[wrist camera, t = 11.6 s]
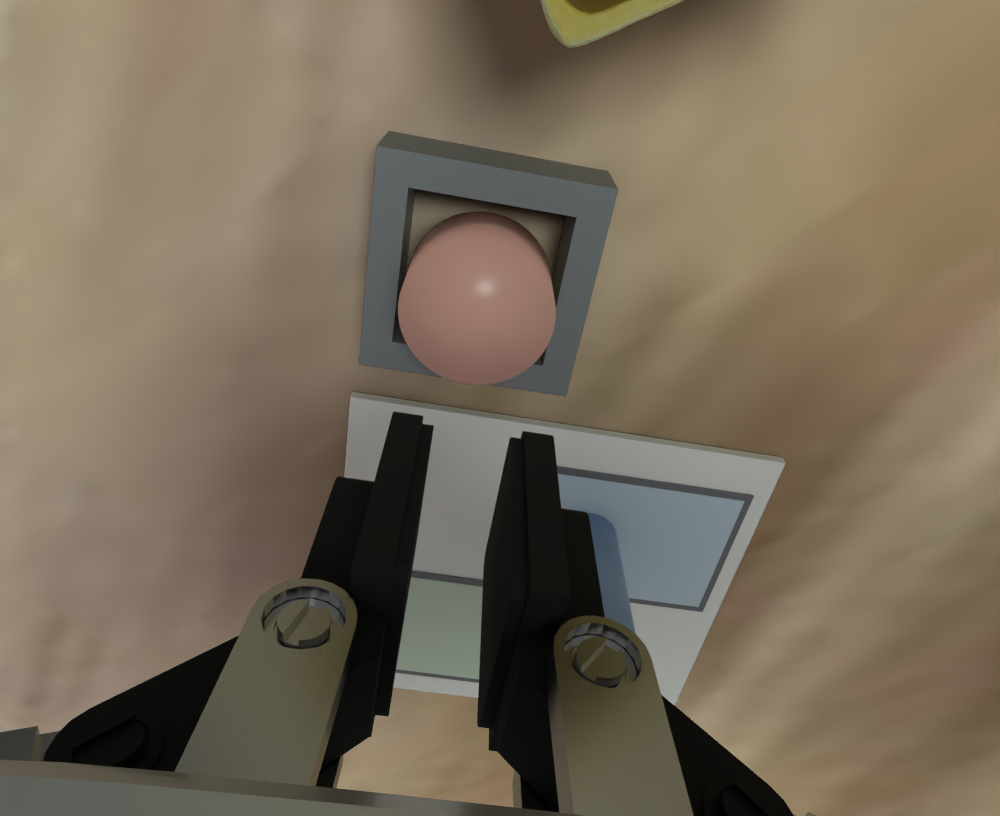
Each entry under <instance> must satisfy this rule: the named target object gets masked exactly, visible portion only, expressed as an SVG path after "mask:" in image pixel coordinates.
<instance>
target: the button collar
mask: <svg viewBox="0 0 1000 816" xmlns="http://www.w3.org/2000/svg"><path fill="white" fill-rule="evenodd" d="M415 189H419V190H425V191H431V192H436V193H442V194H448V195H453V196H459V197H465V198H470V199H476V200H482V201H487V202H493V203H498V204H504V205H510V206H515V207H521V208H527V209H532V210H538V211H544V212H549V213H555V214H561V215H566V219H565V224H564V228H563V233H562V238H561V242H560V247H559V251H558V256H557V260H556V265H555V269H554V274H553V278H552V286H553V292H554V299H555V306H556V320H555V327H554V331H553V334H552V337H551V339H550V342H549V344H548V346H547V347H546V349H545V351H544V352H543V354H542V355H541V356H540V357H539V359H538V360H537V361H536V362H535V363H534V364H533V365H532V366H530V367H529V368H528V369H526V370H525V371H524V372H522V373H521V374H519V375H517V376H515V377H513V378H511V379H508V380H505V381H502V382H498V383H494V384H489V385H495V386H501V387H508V388H514V389H521V390H527V391H534V392H540V393H546V394H553V395H559V396H566V394H567V390H568V386H569V382H570V378H571V374H572V370H573V366H574V362H575V358H576V354H577V350H578V346H579V342H580V338H581V334H582V331H583V327H584V323H585V319H586V315H587V311H588V307H589V303H590V299H591V295H592V291H593V287H594V283H595V279H596V275H597V271H598V267H599V263H600V259H601V255H602V251H603V248H604V244H605V240H606V236H607V232H608V228H609V224H610V220H611V216H612V212H613V208H614V204H615V200H616V196H617V192H618V188H617V186H616V184H615V183H614V181H613V179H612V177H611V176H610V174H609V172H608V171H604V170H599V169H593V168H588V167H582V166H577V165H571V164H566V163H560V162H555V161H549V160H544V159H539V158H533V157H528V156H522V155H517V154H511V153H506V152H500V151H495V150H489V149H484V148H478V147H473V146H467V145H462V144H456V143H451V142H445V141H440V140H435V139H429V138H424V137H418V136H413V135H407V134H402V133H396V132H391V131H389V132H388V133H387V134H386V135H385V136H384V138H383V139H382V140H381V141H380V142H379V144H378V145H377V149H376V161H375V173H374V186H373V198H372V210H371V222H370V235H369V247H368V259H367V272H366V284H365V296H364V308H363V321H362V333H361V345H360V357H359V364H360V365H367V366H373V367H380V368H386V369H392V370H399V371H405V372H412V373H418V374H425V375H431V376H437V377H442V376H440V375H438V374H436V373H434V372H433V371H431V370H430V369H428V368H427V367H426V366H425V365H423V364H422V363H421V362H420V361H419V360H418V359H417V358H416V357H415V355H414V354H413V353H412V351H411V350H410V349H409V347H408V345H407V343H406V341H405V339H404V337H403V334H402V332H401V328H400V324H399V318H398V302H399V296H400V292H401V289H402V286H403V283H404V280H405V276H406V267H407V258H408V249H409V240H410V231H411V222H412V213H413V204H414V195H415Z"/></svg>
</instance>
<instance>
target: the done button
mask: <svg viewBox="0 0 1000 816" xmlns="http://www.w3.org/2000/svg"><path fill="white" fill-rule="evenodd" d="M398 318H399V324H400V328H401V332H402V334H403V337H404V339H405V341H406V343H407V345H408V347H409V349H410V350H411V351H412V353H413V354H414V355H415V357H416V358H417V359H418V360H419V361H420V362H421V363H422V364H423V365H425V366H426V367H427V368H428V369H430V370H431V371H433V372H434V373H436V374H438V375H440V376H442V377H444V378H446V379H449V380H452V381H455V382H458V383H463V384H471V385H487V384H494V383H498V382H502V381H505V380H508V379H511V378H513V377H515V376H517V375H519V374H521V373H522V372H524V371H525V370H526V369H528V368H529V367H530V366H532V365H533V364H534V363H535V362H536V361H537V360H538V359H539V357H540V356H541V355H542V354H543V352H544V351H545V349H546V347H547V346H548V344H549V342H550V339H551V337H552V334H553V331H554V327H555V320H556V306H555V299H554V292H553V286H552V279H551V273H550V267H549V263H548V260H547V257H546V255H545V252H544V250H543V249H542V247H541V245H540V243H539V242H538V241H537V240H536V238H535V237H534V236H533V235H532V234H531V233H530V232H529V231H528V230H527V229H526V228H525V227H523V226H522V225H520V224H519V223H517V222H516V221H514V220H512V219H510V218H508V217H505V216H502V215H499V214H495V213H490V212H468V213H462V214H459V215H455V216H452V217H450V218H448V219H446V220H444V221H442V222H441V223H439V224H437V225H436V226H435V227H434V228H432V229H431V230H430V231H429V232H428V233H427V234H426V235H425V236H424V237H423V239H422V240H421V242H420V243H419V244H418V246H417V248H416V250H415V252H414V254H413V257H412V260H411V263H410V266H409V269H408V271H407V274H406V277H405V280H404V283H403V286H402V289H401V292H400V296H399V302H398Z"/></svg>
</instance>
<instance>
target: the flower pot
mask: <svg viewBox="0 0 1000 816" xmlns="http://www.w3.org/2000/svg"><path fill="white" fill-rule="evenodd" d="M540 1H541V5H542V8H543V12H544V16H545V19H546V22H547V24H548V26H549V29H550V31H551V33H552V35H553V36H554V37H555V38H556V39H557V40H558V41H559V42H560V43H561V44H563V45H564V46H566V47H568V48H574V47H581V46H583V45H586V44H589V43H591V42H594V41H596V40H599V39H601V38H603V37H605V36H608V35H610V34H612V33H614V32H617V31H619V30H621V29H623V28H625V27H627V26H629V25H631V24H633V23H636V22H638V21H640V20H642V19H645V18H647V17H649V16H651V15H654V14H656V13H658V12H660V11H662V10H665V9H667V8H670V7H672V6H674V5H676V4H678V3H681V2H683V1H686V0H540Z"/></svg>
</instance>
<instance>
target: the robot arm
mask: <svg viewBox="0 0 1000 816" xmlns="http://www.w3.org/2000/svg"><path fill="white" fill-rule="evenodd" d="M433 429H434V425H427V424H423V416H421V415H414V414H408V413H401V412H395V411H394V412H393V414H392V417H391V421H390V425H389V428H388V432H387V436H386V439H385V443H384V447H383V451H382V454H381V458H380V462H379V465H378V469H377V473H376V477H375V480H374V481H367V480H360V479H353V478H346V477H339V476H338V477H337V478H336V480H335V483H334V485H333V488H332V491H331V494H330V497H329V500H328V502H327V505H326V508H325V511H324V514H323V517H322V520H321V522H320V525H319V528H318V531H317V534H316V537H315V540H314V542H313V545H312V548H311V551H310V554H309V557H308V560H307V563H306V565H305V568H304V571H303V574H302V577H301V579H297V580H291V581H286V582H284V583H281V584H279V585H277V586H274V587H272V588H271V589H269V590H268V591H267V592H265V593H264V594H263V595H261V596H260V598H259V599H258V600H257V602H256V603H255V605H254V606H253V607H252V609H251V611H250V614H249V616H248V618H247V620H246V622H245V624H244V626H243V628H242V630H241V632H240V635H239V636H237V637H235V638H233V639H231V640H229V641H227V642H225V643H223V644H221V645H219V646H217V647H215V648H213V649H211V650H208V651H206V652H204V653H202V654H200V655H198V656H196V657H194V658H192V659H190V660H188V661H186V662H184V663H182V664H180V665H178V666H176V667H174V668H172V669H170V670H168V671H166V672H164V673H162V674H160V675H157V676H155V677H153V678H151V679H149V680H147V681H145V682H143V683H141V684H139V685H137V686H135V687H133V688H131V689H129V690H127V691H125V692H123V693H121V694H119V695H117V696H115V697H113V698H111V699H108V700H106V701H104V702H102V703H100V704H98V705H96V706H94V707H92V708H90V709H88V710H87V711H85V712H84V713H82V714H80V715H79V716H77V717H76V718H74V719H72V720H71V721H70V722H69V723H68V724H67V725H66V726H65V727H64V728H63V729H62V730H61V731H57V732H51V733H45V734H40V733H39V729H38V726H35V727H29V728H23V729H17V730H11V731H5V732H0V816H795V815H793V814H792V812H791V811H790V809H789V808H788V806H787V804H786V803H785V801H784V800H783V799H782V798H781V797H780V796H779V795H778V794H777V793H776V792H775V791H774V790H773V789H772V788H771V787H770V786H769V785H768V784H767V783H766V782H764V781H763V780H762V779H761V778H760V777H759V776H757V775H756V774H755V773H754V772H753V771H751V770H750V769H749V768H748V767H747V766H745V765H744V764H743V763H742V762H741V761H740V760H738V759H737V758H736V757H735V756H734V755H732V754H731V753H730V752H729V751H728V750H726V749H725V748H724V747H723V746H722V745H721V744H719V743H718V742H717V741H716V740H715V739H713V738H712V737H711V736H710V735H709V734H707V733H706V732H705V731H704V730H703V729H702V728H700V727H699V726H698V725H697V724H696V723H694V722H693V721H692V720H691V719H690V718H688V717H687V716H686V715H685V714H684V713H683V712H681V711H680V710H679V709H678V708H677V707H675V706H674V705H673V704H672V703H671V702H669V701H668V700H667V699H666V698H665V697H664V696H662V695H661V692H660V688H659V685H658V681H657V677H656V673H655V670H654V666H653V662H652V659H651V656H650V654H649V652H648V650H647V647H646V645H645V644H644V643H643V642H642V641H641V639H640V638H639V637H638V636H637V635H636V634H635V633H634V632H632V631H631V630H630V629H628V628H627V627H626V626H624V625H623V624H620V623H618V622H616V621H614V620H612V619H609V618H605V615H604V609H603V602H602V596H601V590H600V583H599V577H598V570H597V564H596V558H595V551H594V545H593V539H592V532H591V526H590V520H589V516H588V514H587V513H586V512H583V511H576V510H569V509H562V508H561V501H560V492H559V482H558V473H557V463H556V454H555V444H554V437H553V436H552V435H547V434H540V433H533V432H527V431H523V432H522V435H521V439H520V438H514V437H511V438H510V440H509V444H508V448H507V453H506V458H505V462H504V467H503V472H502V476H501V481H500V486H499V490H498V495H497V500H496V504H495V509H494V514H493V518H492V523H491V528H490V532H489V537H488V542H487V546H486V551H485V558H484V568H483V592H482V617H481V642H480V667H479V692H478V717H477V724H478V727H484V728H489V750H490V751H498V753H499V754H500V755H501V756H502V757H503V758H504V759H505V760H506V761H507V762H508V763H509V764H510V765H511V766H512V768H513V769H514V774H513V783H512V786H513V805H514V808H513V807H504V806H495V805H486V804H476V803H467V802H458V801H449V800H440V799H430V798H421V797H412V796H402V795H393V794H384V793H374V792H365V791H356V790H346V789H336V787H337V784H338V780H339V776H340V772H341V768H342V763H343V754H345V753H346V752H348V751H349V750H350V749H352V748H353V747H355V746H356V745H358V744H359V743H361V742H362V741H364V740H365V739H367V738H368V737H371V734H372V728H373V723H374V717H375V715H381V716H388V715H389V709H390V703H391V697H392V691H393V685H394V679H395V673H396V666H397V660H398V654H399V648H400V642H401V636H402V630H403V623H404V617H405V611H406V605H407V599H408V593H409V587H410V580H411V574H412V568H413V562H414V556H415V549H416V543H417V536H418V530H419V523H420V516H421V509H422V503H423V496H424V489H425V482H426V476H427V469H428V462H429V456H430V449H431V442H432V435H433ZM806 816H816V815H814V814H812V813H809V812H808V813H807V814H806Z"/></svg>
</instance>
